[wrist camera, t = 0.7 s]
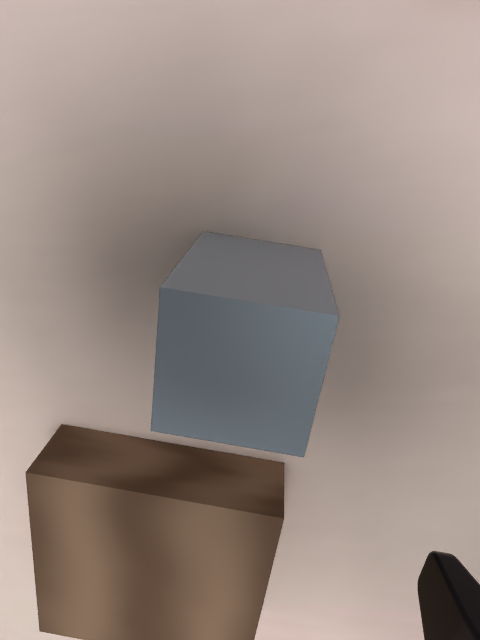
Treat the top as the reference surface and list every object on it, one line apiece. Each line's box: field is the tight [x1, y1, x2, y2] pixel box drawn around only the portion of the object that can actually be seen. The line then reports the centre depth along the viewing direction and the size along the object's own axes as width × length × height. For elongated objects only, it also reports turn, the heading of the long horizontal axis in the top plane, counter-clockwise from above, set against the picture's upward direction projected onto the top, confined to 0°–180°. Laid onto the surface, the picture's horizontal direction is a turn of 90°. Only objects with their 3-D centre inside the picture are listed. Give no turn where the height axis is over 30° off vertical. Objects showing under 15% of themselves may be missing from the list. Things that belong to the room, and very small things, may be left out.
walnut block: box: [26, 424, 284, 640], centre depth 24 cm, size 12×12×4 cm
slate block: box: [151, 231, 339, 457], centre depth 16 cm, size 5×5×7 cm
